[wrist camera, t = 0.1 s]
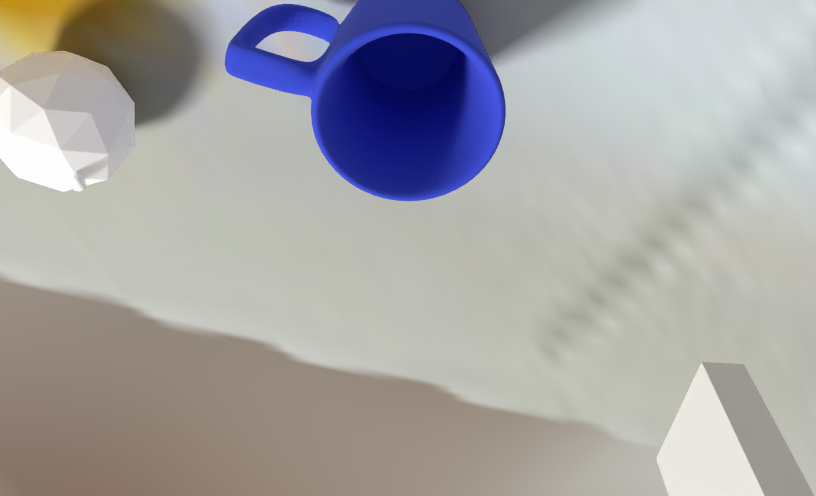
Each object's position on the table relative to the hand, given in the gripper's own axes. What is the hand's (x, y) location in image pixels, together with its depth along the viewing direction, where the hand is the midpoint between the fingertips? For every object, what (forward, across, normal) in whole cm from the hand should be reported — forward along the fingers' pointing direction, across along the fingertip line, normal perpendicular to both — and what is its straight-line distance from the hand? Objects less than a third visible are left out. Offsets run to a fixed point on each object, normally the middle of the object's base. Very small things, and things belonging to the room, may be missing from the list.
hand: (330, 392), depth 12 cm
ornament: (+28, -16, -8) cm, 33 cm away
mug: (+28, 0, -3) cm, 28 cm away
